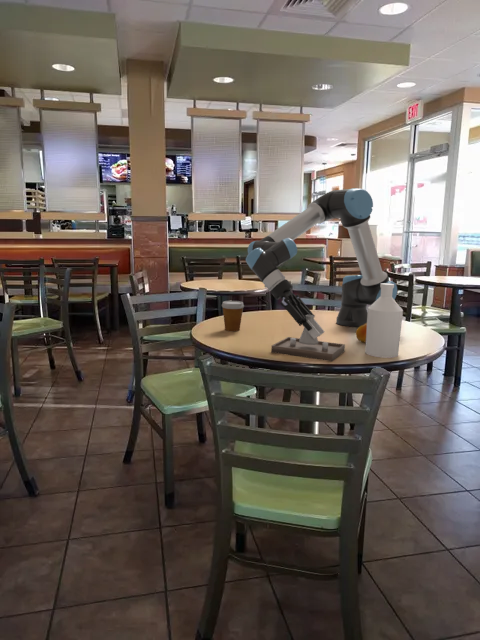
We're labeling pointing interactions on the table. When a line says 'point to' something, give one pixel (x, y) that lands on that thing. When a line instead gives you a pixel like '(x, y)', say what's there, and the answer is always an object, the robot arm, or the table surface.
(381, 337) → the bottle
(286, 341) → the caddy tray
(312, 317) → the flask
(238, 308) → the disposable coffee cup
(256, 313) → the table surface
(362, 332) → the fruit
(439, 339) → the table surface
